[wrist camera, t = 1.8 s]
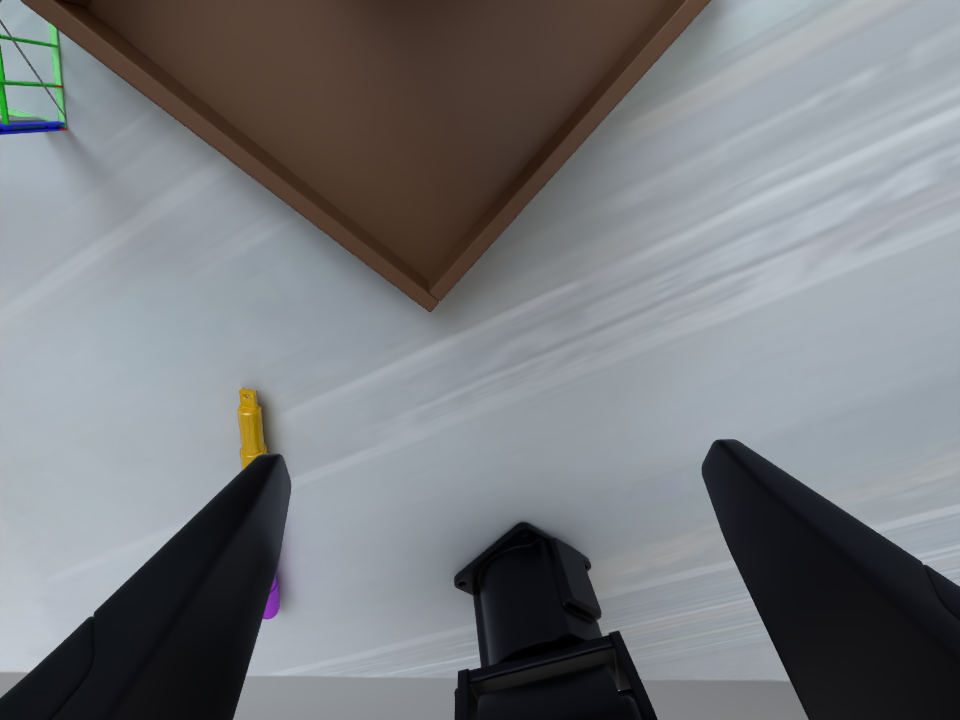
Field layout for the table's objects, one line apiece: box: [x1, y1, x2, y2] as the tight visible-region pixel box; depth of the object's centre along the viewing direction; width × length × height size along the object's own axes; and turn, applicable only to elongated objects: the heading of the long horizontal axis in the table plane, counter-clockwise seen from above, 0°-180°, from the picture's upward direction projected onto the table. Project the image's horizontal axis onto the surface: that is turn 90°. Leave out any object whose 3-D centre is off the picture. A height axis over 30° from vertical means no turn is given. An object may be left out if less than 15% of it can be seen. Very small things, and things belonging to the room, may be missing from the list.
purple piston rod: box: [238, 388, 280, 619], centre depth 24 cm, size 3×1×16 cm
